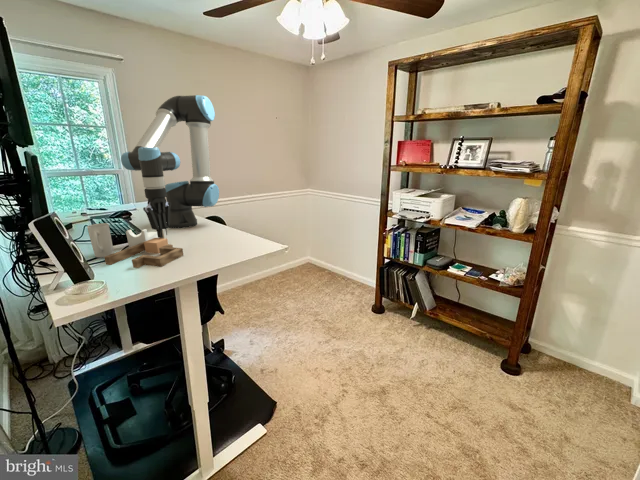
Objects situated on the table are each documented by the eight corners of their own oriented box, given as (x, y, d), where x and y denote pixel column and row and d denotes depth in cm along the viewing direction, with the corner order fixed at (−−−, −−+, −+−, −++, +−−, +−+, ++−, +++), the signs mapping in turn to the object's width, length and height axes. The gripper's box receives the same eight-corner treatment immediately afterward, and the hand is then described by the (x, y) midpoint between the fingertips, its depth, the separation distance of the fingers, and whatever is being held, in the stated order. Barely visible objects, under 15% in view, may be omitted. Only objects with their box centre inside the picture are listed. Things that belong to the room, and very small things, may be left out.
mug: (97, 253, 121) (90, 224, 117) (116, 251, 123) (110, 222, 120) (89, 261, 112) (81, 230, 109) (110, 259, 114) (103, 228, 111)
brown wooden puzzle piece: (144, 248, 126) (143, 242, 125) (188, 252, 121) (187, 245, 120) (106, 264, 109) (104, 256, 108) (154, 270, 104) (153, 262, 103)
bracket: (146, 248, 128) (143, 230, 126) (129, 248, 127) (125, 231, 125) (159, 239, 140) (156, 223, 138) (143, 239, 140) (140, 223, 137)
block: (156, 247, 127) (155, 237, 126) (168, 249, 126) (167, 238, 124) (145, 252, 122) (143, 242, 120) (158, 253, 120) (156, 243, 119)
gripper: (158, 185, 127) (167, 239, 134) (133, 189, 115) (144, 248, 121) (174, 186, 125) (182, 240, 132) (150, 190, 113) (160, 249, 120)
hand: (163, 244), depth 127 cm, fingers closed
